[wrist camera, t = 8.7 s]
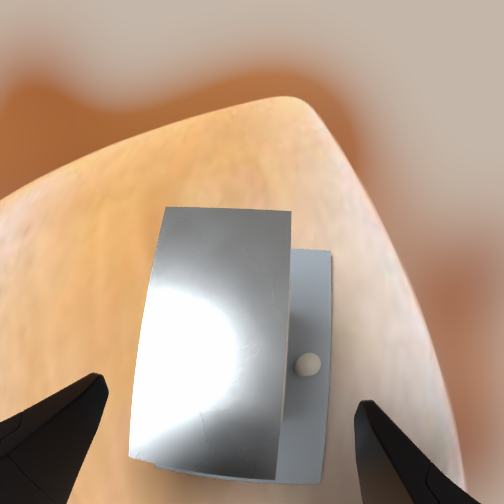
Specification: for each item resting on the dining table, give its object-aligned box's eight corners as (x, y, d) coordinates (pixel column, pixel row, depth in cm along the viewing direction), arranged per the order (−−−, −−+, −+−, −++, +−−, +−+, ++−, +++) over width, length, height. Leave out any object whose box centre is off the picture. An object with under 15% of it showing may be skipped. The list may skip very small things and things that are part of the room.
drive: (272, 422, 16) (281, 480, 6) (207, 416, 16) (128, 456, 6) (280, 307, 18) (296, 211, 8) (218, 303, 19) (166, 206, 9)
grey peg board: (318, 479, 14) (328, 497, 11) (158, 464, 15) (139, 476, 12) (328, 255, 21) (338, 233, 18) (183, 248, 21) (171, 225, 18)
